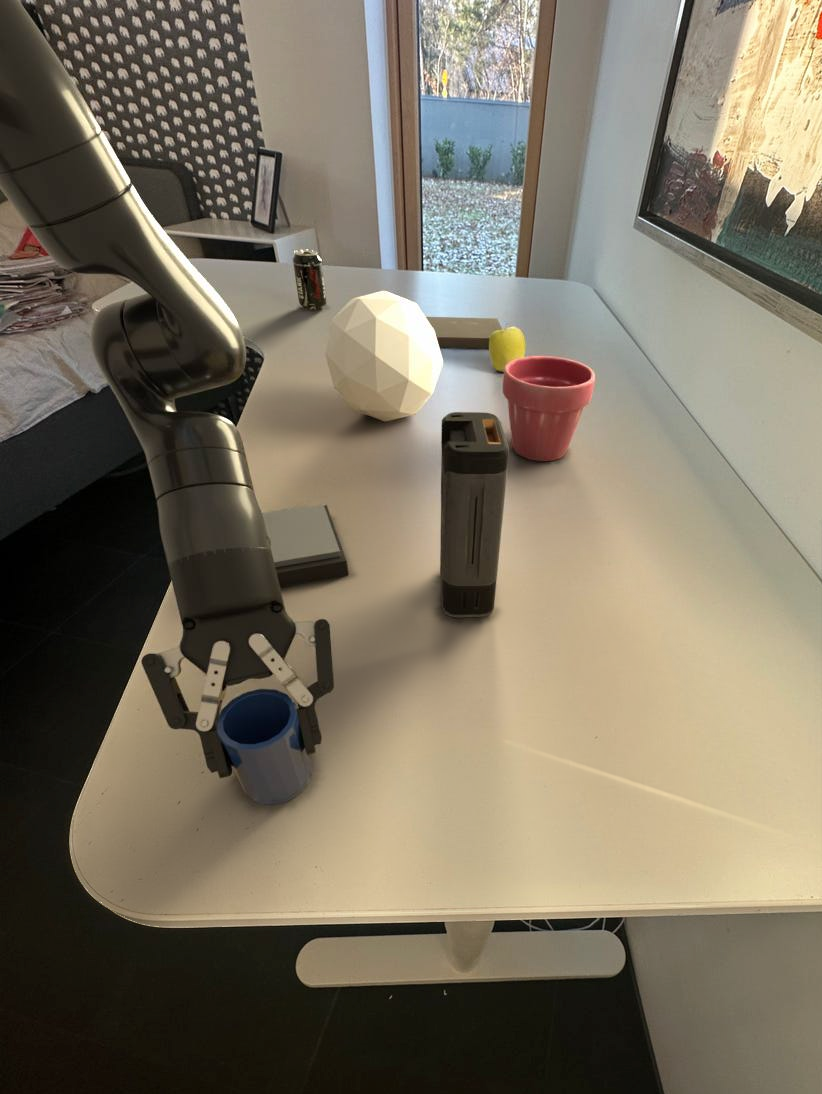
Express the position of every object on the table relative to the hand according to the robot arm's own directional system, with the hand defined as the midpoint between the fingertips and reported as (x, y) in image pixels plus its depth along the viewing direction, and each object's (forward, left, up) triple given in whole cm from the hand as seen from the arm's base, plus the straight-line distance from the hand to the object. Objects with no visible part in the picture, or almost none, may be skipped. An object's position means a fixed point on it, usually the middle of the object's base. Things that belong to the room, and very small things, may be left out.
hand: (270, 762), depth 45 cm
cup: (0, +2, -4) cm, 5 cm away
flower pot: (+49, +52, -4) cm, 71 cm away
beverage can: (+26, +140, -4) cm, 142 cm away
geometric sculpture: (+28, +72, -4) cm, 77 cm away
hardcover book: (+54, +110, -4) cm, 122 cm away
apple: (+58, +88, -4) cm, 105 cm away
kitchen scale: (+4, +34, -4) cm, 34 cm away
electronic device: (+24, +20, -4) cm, 31 cm away
